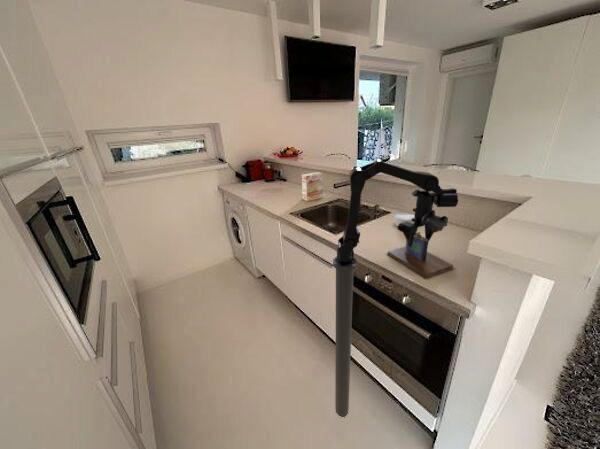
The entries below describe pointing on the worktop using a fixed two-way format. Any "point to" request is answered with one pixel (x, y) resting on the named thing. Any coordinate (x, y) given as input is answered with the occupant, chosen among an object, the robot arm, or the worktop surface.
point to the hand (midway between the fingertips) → (418, 243)
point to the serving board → (421, 263)
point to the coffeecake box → (312, 186)
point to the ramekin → (403, 218)
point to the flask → (417, 247)
